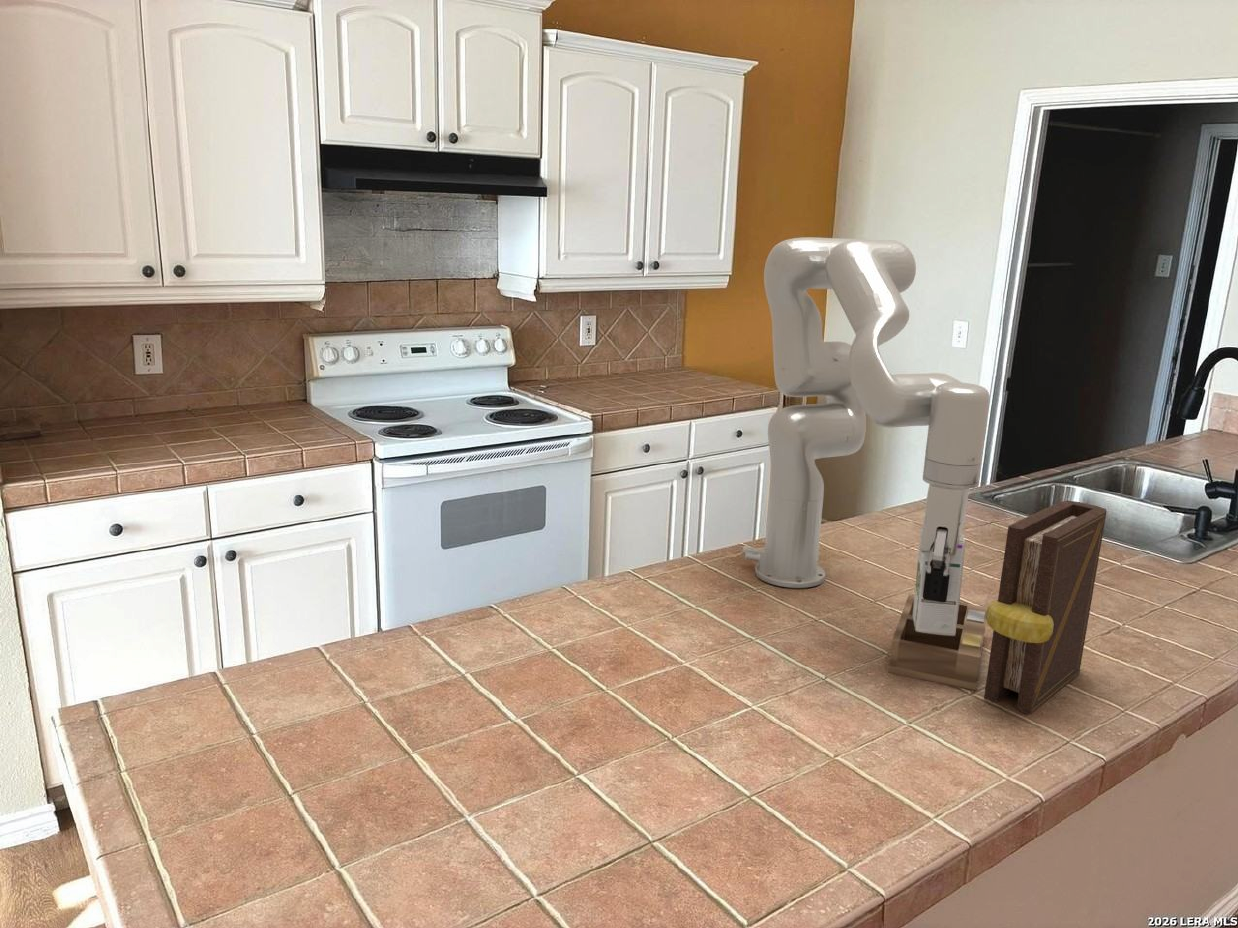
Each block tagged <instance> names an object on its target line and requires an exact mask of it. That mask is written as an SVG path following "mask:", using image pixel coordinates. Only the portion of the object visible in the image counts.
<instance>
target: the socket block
mask: <svg viewBox="0 0 1238 928" xmlns="http://www.w3.org/2000/svg"><path fill="white" fill-rule="evenodd" d="M914 595H915V593H914V594H913V593H908V596H907V599H906V600H905V601H906V602H905V603H904V606H903V609H902V612H901V614H900V617H899V620H898V623H897V626H896V628H895V631H894V633H893V635H892V636H893V637H892V639H891V644H890V645H891V646H890V654H889V664H888V673H891V674H896V675H900V676H904V677H909V678H915V679H920V680H925V681H930V682H935V683H939V684H943V685H949V686H954V687H958V688H962V689H968V690H972V691H977V686H978V678H979V673H980V672H979V671H980V666H981V658H982V651H983V645H984V639H985V630H986V625H987V620H986V614H987V609H988V607H989V606H982V605H977V604H971V603H965V602H959V610H958V618H957V626H956V634H955V636H949V635H938V634H929V633H922V632H917V631H915V626H914V622H913V617H912V615H913V605H914Z"/></svg>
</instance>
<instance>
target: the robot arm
mask: <svg viewBox="0 0 1238 928" xmlns="http://www.w3.org/2000/svg"><path fill="white" fill-rule="evenodd" d="M764 264H765V265H764V269H763V270H764V273H763V282H764V283H763V286H764V290H765V295H766V299H767V303H768V307H769V310H770V316H771V325H772V326H771V331H772V333H771V334H772V353H773V356H772V357H773V371H774V372H773V373H774V382H775V385H776V388H777V390H778V391H779V392H780V394H782V395H784V396H787V397H790V398H792V397H793V398H806V397H807V398H810V397H811V398H812V397H826V398H825V399H826V403H813V404H811V403H810V404H796V405H795V404H794V405H789V406H785V407H782V408H780V409H778V410H777V411H776V412H775V413H773V415H772V416H771V418H769V422H768V425H767V440H768V447H769V448H768V449H769V461H770V466H769V467H770V470H769V471H770V473H769V474H770V475H769V476H770V478H769V490H768V491H769V492H768V493H769V494H768V507H767V516H766V517H767V519H766V531H765V532H766V534H765V545H764V546H761V547H760V548H759V547H758V548H757V547H754V546H749V545H743V547H742V550H741V551H742V552H741V553H742V554H741V555H742V556H744V559H745V560H746V561H754V562H757V564H756V565H755V567H754V573H755V575H756V576H757V578H758V579H760V580H761V581H763V582H765V583H767V584H771V585H774V586H777V587H783V588H791V589H806V588H813V587H817V586H818V585H820V584H822V583H824V581H825V580H826V571H825V569H824V568H822V566H820V565H818V562H819V561H818V560H819V552H820V551H819V548H820V539H821V538H820V537H821V527H822V515H823V505H824V504H823V503H824V494H825V491H824V490H825V485H824V484H825V483H824V479H823V476H822V474H821V472H820V470H819V468H818V467H817V465H816V461H815V460H818V459H822V458H823V459H824V458H825V459H826V458H834V457H844V456H845V457H846V456H850V455H853V454H855V453H857V452H858V451H859V450H860V449H861V448H862V446H863V444H864V442H865V439H866V432H867V421H866V420H867V417H866V416H868V418H869V419H870V420H871V421H872V422H873V423H874V424H876V425H878V426H880V427H882V428H887V429H890V428H903V427H904V428H906V427H908V428H909V427H917V426H918V427H921V426H928V428H927V439H926V444H925V445H926V446H925V456H924V463H923V471H922V481H923V482H925V483H926V484H929V485H928V489H927V495H926V500H925V507H924V514H923V515H924V516H923V522H922V526H923V529H922V536H921V535H920V537H921V543H920V542H919V546H920V551H921V552H922V553H924V551H927V552H928V550H929V549H930V553H929V554H930V555H929V561H928V568H927V571H926V573H925V581H924V589H923V598H924V599H926V600H932V601H938V602H946V600H947V593H948V585H949V577H950V575H948V569H949V562H950V557H952V556H954V555H955V554H956V551H957V548H958V544H959V540H960V537H961V534H962V535H963V530H964V525H965V524H964V523H965V519H966V518H965V517H966V512H967V506H968V498H969V492H970V489H975V488H978V487H979V485H980V479H981V471H982V461H983V458H984V457H983V455H984V449H985V440H986V432H987V426H988V417H989V416H988V415H989V410H990V409H989V408H990V403H991V397H990V393H989V391H988V389H986V387H984V386H982V385H979V384H974V383H966V382H962V381H960V380H958V379H956V378H954V377H952V376H951V375H948V374H944V373H939V372H936V373H933V372H931V373H905V374H902V373H901V374H891V373H890V370H889V369H888V368H887V366H886V364H885V362H884V360H883V358H882V355H881V353H880V349H879V347H880V346H882V345H883V344H885V343H886V342H888V341H890V340H892V339H893V338H895V337H896V336H897V335H898V334H899V333H900V332H901V331H902V330H904V329H905V327H906V326H907V325H908V323H909V319H910V310H909V307H908V306H907V304H906V302H905V301H904V299H903V297H902V295H901V293H904V292H905V291H906V290H908V289H909V288H910V287H911V286H912V285H913V283H914V281H915V278H916V274H917V271H916V270H917V266H916V260H915V257H914V254H913V253H912V251H911V250H910V248H909V247H908V246H906V245H905V244H904V243H903V242H901V241H898V240H890V239H886V240H885V239H867V238H866V239H863V238H848V237H847V238H845V237H844V238H840V237H839V238H835V237H834V238H833V237H813V236H812V237H810V236H809V237H807V236H806V237H794V238H789V239H785V240H782V241H780V242H779V243H777V244H775V246H773V247H772V249H771V250H770V252H769V253H768V256H767V259H766V260H765V263H764ZM813 289H814V290H833V292H834V294H835V296H836V298H837V300H838V302H839V304H840V306H841V308H842V310H843V312H844V314H845V316H846V318H847V320H848V322H849V324H850V326H851V328H852V330H853V331H854V334H855V336H854V339H853V340H852V344H850V343H849V342H848V343H847V342H845V341H824V338H823V330H822V328H823V325H822V323H823V322H822V321H823V319H822V315H821V312H820V309H819V308H818V306H817V304H816V302H815V300H814V299H813V298H812V297H811V295H809V293H808V290H813ZM947 531H948V534H947ZM946 537H947V538H946ZM948 546H949V548H948ZM930 547H931V548H930ZM933 547H935V549H934V551H933ZM944 549H945V550H948V554H947V553H944ZM943 558H946V561H943Z"/></svg>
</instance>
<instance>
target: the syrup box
mask: <svg viewBox="0 0 1238 928" xmlns="http://www.w3.org/2000/svg"><path fill="white" fill-rule="evenodd" d="M922 529H923V525H922V526H921V530H920V539H919V544H920V543H921V536H922ZM947 534H948V531H947ZM946 538H947V537H946ZM966 544H967V543H966V540H965V537H964V534H963V533H962V534H961V537H960V540H959V544H958V548H957V551H956V554H955V555H954V556H952V557H950V562H949V569H948V575H950V577H949V585H948V593H947V600H946V602H938V601H932V600H926V599H924V598H923V589H924V581H925V573H926V571H927V568H928V561H929V555H930V554H929V553H930V549H929V550H928V552H927V551H924V553H922V552H921V551H920V545H919V547H918V557H917V568H916V576H915V577H916V578H915V588H914V594H915V595H914V605H913V615H912V617H913V622H914V626H915V631H917V632H922V633H929V634H938V635H949V636H955V634H956V626H957V618H958V610H959V602H960V601H961V600H960V599H961V591H962V590H961V589H962V583H963V573H964V572H963V571H964V564H965V554H966V553H965V552H966ZM930 548H931V547H930ZM948 548H949V546H948ZM934 549H935V547H933V551H934ZM944 553H947V554H948V550H945V549H944ZM943 561H946V558H943ZM960 603H961V602H960Z"/></svg>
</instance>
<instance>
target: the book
mask: <svg viewBox="0 0 1238 928" xmlns="http://www.w3.org/2000/svg"><path fill="white" fill-rule="evenodd" d="M1107 512H1108V511H1107V509H1106V508H1103V507H1101V506H1098V505H1093V504H1090V503H1085V502H1081V501H1076V500H1075V501H1074V500H1059V502H1056V503H1054V504H1052V505H1050V506H1048V507H1046V508H1043V509H1042V510H1039V511H1037V512H1035V513H1033V514H1031V515H1028V516H1027V517H1024V518H1023V519H1020V520H1018V521H1016V522H1013V523H1012V524H1010V525H1008V526H1007V534H1006V540H1005V549H1004V555H1003V563H1002V569H1001V570H1002V571H1001V575H1000V576H1001V577H1000V581H999V582H1000V583H999V589H998V590H999V591H998V598H997V600H994V601H993V602H990V604H989V605H988V606H987V607H988V609H987V614H986V624H987V625H988V626H989V628H990V629H992V630H993V632H992V639H991V645H990V653H989V659H988V667H987V675H986V681H985V682H986V683H985V689H984V695H983V697H984V699H985V700H987V701H990V702H992V703H998V702H999V701H1001V700H1002V699H1003V698H1005V697H1006V696H1007V695H1009V694H1010V693H1012V692H1015V693H1017V694H1018V698H1017V705H1016V710H1015V711H1017V712H1018V713H1021V714H1023V715H1026V716H1031V715H1032V713H1034V712H1035V711H1037V710H1038V709H1039V708H1041V706H1043V705H1044V704H1045V703H1046V702H1047V701H1049V700H1050V699H1052V697H1054V696H1055V695H1056V694H1057V693H1058V692H1061V690H1062V689H1063V688H1065V687H1066V686H1067V685H1068V684H1070V683H1071V682H1072V681H1074V680H1075V679H1076V678H1077V677H1079V676H1080V673H1081V666H1082V659H1083V652H1084V646H1085V642H1086V635H1087V630H1088V623H1089V618H1090V611H1091V606H1092V600H1093V594H1094V589H1095V582H1096V576H1097V570H1098V564H1099V559H1100V553H1101V547H1102V541H1103V536H1104V535H1103V534H1104V530H1105V529H1104V528H1105V524H1106V518H1107V517H1106V516H1107Z"/></svg>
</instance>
